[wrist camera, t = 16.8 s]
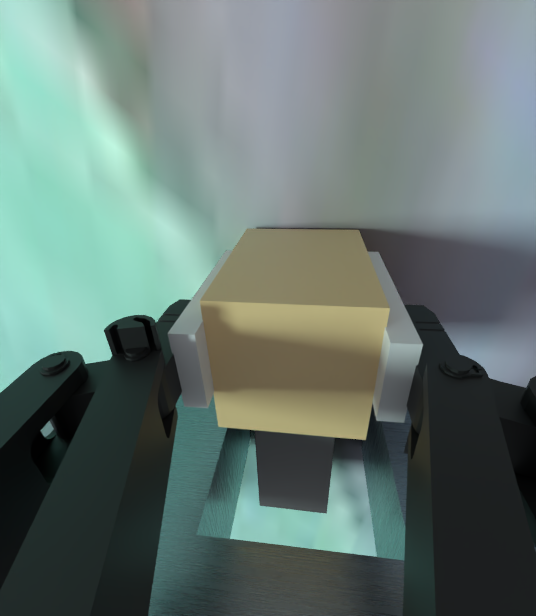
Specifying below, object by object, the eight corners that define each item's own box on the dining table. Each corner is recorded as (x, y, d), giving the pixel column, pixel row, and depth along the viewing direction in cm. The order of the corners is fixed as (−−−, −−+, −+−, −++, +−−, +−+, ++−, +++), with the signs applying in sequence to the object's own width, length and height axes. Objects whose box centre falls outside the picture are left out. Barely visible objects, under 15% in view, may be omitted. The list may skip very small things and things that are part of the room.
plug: (260, 453, 23) (240, 573, 17) (247, 228, 15) (199, 300, 9) (332, 460, 22) (338, 587, 16) (358, 229, 14) (389, 308, 8)
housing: (191, 433, 23) (59, 765, 11) (176, 367, 20) (-27, 722, 8) (429, 452, 21) (578, 886, 9) (451, 382, 18) (716, 889, 6)
